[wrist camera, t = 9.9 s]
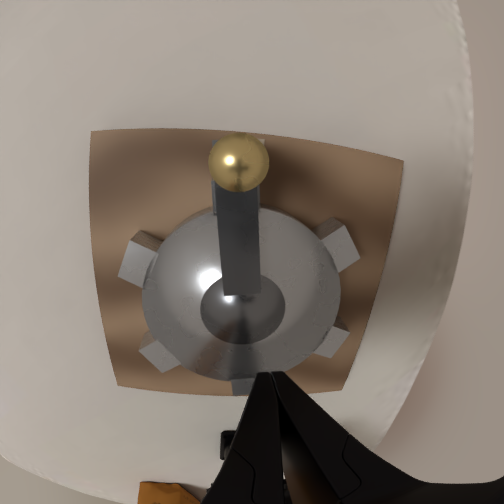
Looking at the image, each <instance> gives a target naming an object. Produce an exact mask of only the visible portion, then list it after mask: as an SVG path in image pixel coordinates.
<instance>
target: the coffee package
mask: <svg viewBox="0 0 504 504" xmlns="http://www.w3.org/2000/svg"><path fill="white" fill-rule="evenodd" d="M200 503H201V502H200V501H198V500H197V499H196V498H195V497H194V496H192V495H191V494H190V493H189V492H188V491H186V490H185V489H183V488H182V487H181V486H180V485H179V484H175V483H174V484H167V483H153V482H152V483H151V482H140V488H139V495H138V504H200Z"/></svg>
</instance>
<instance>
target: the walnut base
mask: <svg viewBox="0 0 504 504" xmlns="http://www.w3.org/2000/svg"><path fill="white" fill-rule="evenodd" d="M232 133H246V134H249V135H252V136H254V137H256V138H257V139H258V140H260V141H261V142H262V144H263V145H264V146H265V148H266V150H267V152H268V156H269V169H268V172H267V174H266V177H265V178H264V180H263V181H262V182H261V183H260V184H259V188H260V203H261V204H265V205H269V206H273V207H276V208H278V209H280V210H283V211H285V212H287V213H289V214H290V215H292V216H294V217H295V218H297V219H298V220H299V221H301V222H302V223H303V224H304V225H305V226H307V227H308V228H309V229H310V230H312V229H314V228H315V227H317V226H319V225H320V224H322V223H323V222H325V221H326V220H328V219H329V218H331V217H333V218H335V219H336V220H338V221H339V222H341V223H342V224H344V225H345V227H346V229H347V231H348V233H349V235H350V237H351V239H352V241H353V243H354V245H355V247H356V249H357V252H358V254H359V256H360V259H359V260H357V261H356V262H354V263H353V264H351V265H350V266H348V267H347V268H345V269H344V270H342V271H341V272H339V273H338V274H339V278H340V288H341V294H340V304H339V310H338V313H337V316H338V317H341V319H342V320H343V322H344V323H345V325H346V326H347V328H348V330H349V331H350V334H349V335H348V337H347V338H346V340H345V341H344V342H343V343H342V345H341V346H340V347H339V349H338V350H337V351H336V353H335V354H334V355H333V356H332V358H328V357H324V356H321V355H318V354H315V353H312V354H311V355H310V356H309V357H308V358H306V359H305V360H304V361H302V362H301V363H300V364H298V365H296V366H295V367H293V368H291V369H289V370H287V371H285V373H286V374H287V375H288V376H289V377H290V378H291V379H292V380H293V381H294V382H295V383H296V384H297V385H298V386H299V387H300V388H301V389H302V390H303V391H304V392H305V393H306V394H310V393H321V392H331V391H339V390H342V389H343V386H344V384H345V381H346V379H347V377H348V374H349V372H350V369H351V367H352V364H353V361H354V359H355V356H356V353H357V351H358V348H359V345H360V342H361V340H362V337H363V334H364V331H365V328H366V325H367V322H368V319H369V316H370V313H371V310H372V306H373V303H374V300H375V296H376V293H377V289H378V286H379V282H380V279H381V275H382V271H383V267H384V263H385V259H386V255H387V251H388V247H389V242H390V238H391V233H392V229H393V224H394V219H395V213H396V208H397V203H398V197H399V191H400V184H401V177H402V170H403V162H404V161H403V160H399V159H395V158H391V157H387V156H383V155H379V154H375V153H371V152H367V151H362V150H358V149H353V148H348V147H343V146H338V145H333V144H327V143H322V142H316V141H310V140H303V139H297V138H290V137H282V136H274V135H266V134H257V133H247V132H235V131H221V130H204V129H165V128H158V129H119V130H102V131H91V140H90V161H89V209H90V229H91V243H92V254H93V264H94V272H95V280H96V287H97V294H98V300H99V306H100V312H101V317H102V323H103V328H104V332H105V337H106V342H107V346H108V350H109V354H110V358H111V362H112V366H113V370H114V374H115V377H116V381H117V384H118V386H124V387H130V388H137V389H144V390H152V391H161V392H170V393H182V394H195V395H215V396H233V392H232V385H231V381H222V380H216V379H212V378H208V377H204V376H202V375H199V374H197V373H194V372H192V371H190V370H188V369H186V368H184V367H183V366H181V365H178V366H176V367H174V368H172V369H170V370H168V371H166V372H164V373H162V372H161V371H159V370H158V369H157V368H156V367H155V366H154V365H153V364H152V363H151V362H150V361H149V360H148V359H147V358H146V357H145V356H143V355H142V354H141V353H140V352H139V348H140V345H141V342H142V340H143V337H144V334H145V333H146V332H148V331H150V330H149V328H148V326H147V323H146V320H145V317H144V312H143V307H142V288H141V287H139V286H137V285H135V284H133V283H130V282H128V281H126V280H124V279H122V278H120V277H118V273H119V270H120V267H121V264H122V261H123V258H124V255H125V252H126V249H127V246H128V243H129V240H130V239H131V238H132V237H133V236H134V235H135V234H136V233H137V232H138V231H139V230H140V231H142V232H145V233H147V234H149V235H151V236H153V237H155V238H158V239H160V240H162V241H164V239H165V238H166V236H167V235H168V234H169V233H170V232H171V231H172V230H173V229H174V228H175V227H176V226H177V225H178V224H180V223H181V222H182V221H183V220H185V219H186V218H188V217H189V216H191V215H193V214H194V213H196V212H198V211H201V210H203V209H205V208H208V207H211V206H213V203H212V189H211V180H212V176H211V173H210V171H209V165H208V160H209V155H210V152H211V150H212V140H220V139H221V138H222V137H224V136H226V135H229V134H232ZM239 396H249V395H239Z"/></svg>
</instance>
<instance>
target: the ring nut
mask: <svg viewBox="0 0 504 504" xmlns="http://www.w3.org/2000/svg"><path fill="white" fill-rule="evenodd" d="M208 165H209V171H210V173H211V176H212V180H211V189H212V203H213V206H211V207H208V208H205V209H203V210H201V211H198V212H196V213H194V214H193V215H191V216H189V217H188V218H186V219H185V220H183V221H182V222H181V223H180V224H178V225H177V226H176V227H175V228H174V229H173V230H172V231H171V232H170V233H169V234H168V235H167V236H166V238H165V239H164V241H162V240H160V239H158V238H155V237H153V236H151V235H149V234H147V233H145V232H142V231H140V230H139V231H138V232H137V233H136V234H135V235H134V236H133V237H132V238H131V239H130V240H129V243H128V246H127V249H126V252H125V255H124V258H123V261H122V264H121V267H120V270H119V273H118V277H120V278H122V279H124V280H126V281H128V282H130V283H133V284H135V285H137V286H139V287H141V288H142V307H143V312H144V317H145V320H146V323H147V326H148V328H149V330H150V331H148V332H146V333H145V334H144V337H143V340H142V342H141V345H140V348H139V352H140V353H141V354H142V355H143V356H145V357H146V358H147V359H148V360H149V361H150V362H151V363H152V364H153V365H154V366H155V367H156V368H157V369H158V370H159V371H161V372H162V373H164V372H166V371H168V370H170V369H172V368H174V367H176V366H178V365H181V366H183V367H184V368H186V369H188V370H190V371H192V372H194V373H197V374H199V375H202V376H204V377H208V378H212V379H216V380H222V381H231V385H232V392H233V396H239V395H249V394H250V391H251V388H252V385H253V382H254V379H255V376H256V374H257V372H272V371H284V372H285V371H287V370H289V369H291V368H293V367H295V366H296V365H298V364H300V363H301V362H302V361H304V360H305V359H306V358H308V357H309V356H310V355H311V354H312V353H315V354H318V355H321V356H324V357H328V358H332V356H333V355H334V354H335V353H336V351H337V350H338V349H339V347H340V346H341V345H342V343H343V342H344V341H345V340H346V338H347V337H348V335H349V334H350V331H349V330H348V328H347V326H346V325H345V323H344V322H343V320H342V319H341V317H338V316H337V313H338V310H339V304H340V294H341V288H340V278H339V274H338V273H339V272H341V271H342V270H344V269H345V268H347V267H348V266H350V265H351V264H353V263H354V262H356V261H357V260H359V259H360V256H359V254H358V252H357V249H356V247H355V245H354V243H353V241H352V239H351V237H350V235H349V233H348V231H347V229H346V227H345V225H344V224H342V223H341V222H339V221H338V220H336V219H335V218H333V217H331V218H329V219H328V220H326V221H325V222H323V223H322V224H320V225H319V226H317V227H315V228H314V229H312V230H310V229H309V228H308V227H307V226H305V225H304V224H303V223H302V222H301V221H299V220H298V219H297V218H295V217H294V216H292V215H290V214H289V213H287V212H285V211H283V210H280V209H278V208H276V207H273V206H269V205H265V204H261V203H260V188H259V184H260V183H261V182H262V181H263V180H264V178H265V177H266V174H267V172H268V169H269V156H268V152H267V150H266V148H265V146H264V145H263V144H262V142H261V141H260V140H258V139H257V138H256V137H254V136H252V135H249V134H246V133H232V134H229V135H226V136H224V137H222V138H221V139H220V140H212V150H211V152H210V155H209V160H208Z"/></svg>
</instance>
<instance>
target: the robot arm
mask: <svg viewBox="0 0 504 504" xmlns="http://www.w3.org/2000/svg"><path fill="white" fill-rule="evenodd" d="M348 434H349V433H348V432H347V431H346V430H345V429H344V428H343V427H342V426H341V425H340V424H339V423H337V422H336V421H335V420H334V419H333V418H332V417H331V416H330V415H329V414H328V413H326V412H325V411H324V410H323V409H322V408H321V407H320V406H319V405H318V404H317V403H316V402H315V401H314V400H313V399H312V398H311V397H309V396H308V395H307V394H306V393H305V392H304V391H303V390H302V389H301V388H300V387H299V386H298V385H297V384H296V383H295V382H294V381H293V380H292V379H291V378H290V377H289V376H288V375H287V374H286V373H285V372H284V371H272V372H257V374H256V376H255V379H254V382H253V385H252V388H251V391H250V394H249V396H248V399H247V402H246V405H245V408H244V411H243V413H242V416H241V419H240V422H239V424H238V427H237V430H236V432H222V433H221V443H220V459H221V460H225V461H224V463H223V465H222V467H221V470H220V472H219V473H218V475H217V477H216V479H215V481H214V482H213V483H211V487H210V488H209V489H207V494H206V495H205V497H204V498H203V500H202V501H201V503H200V504H504V476H503V477H501V478H500V479H497V480H495V481H492V482H487V483H473V484H472V483H471V484H443V483H429V482H424V481H421V480H418V479H415V478H413V477H411V476H410V475H408V474H406V473H405V472H403V471H401V470H399V469H398V468H396V467H395V466H393V465H391V464H390V463H388V462H386V461H385V460H383V459H382V458H380V457H379V456H377V455H376V454H374V453H373V452H372V451H370V450H369V449H368V448H366V447H365V446H364V445H363V444H361V443H360V442H359V441H358V440H357V439H355V438H354V437H353V436H352V435H351V434H349V435H348ZM283 472H284V475H285V479H283Z"/></svg>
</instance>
